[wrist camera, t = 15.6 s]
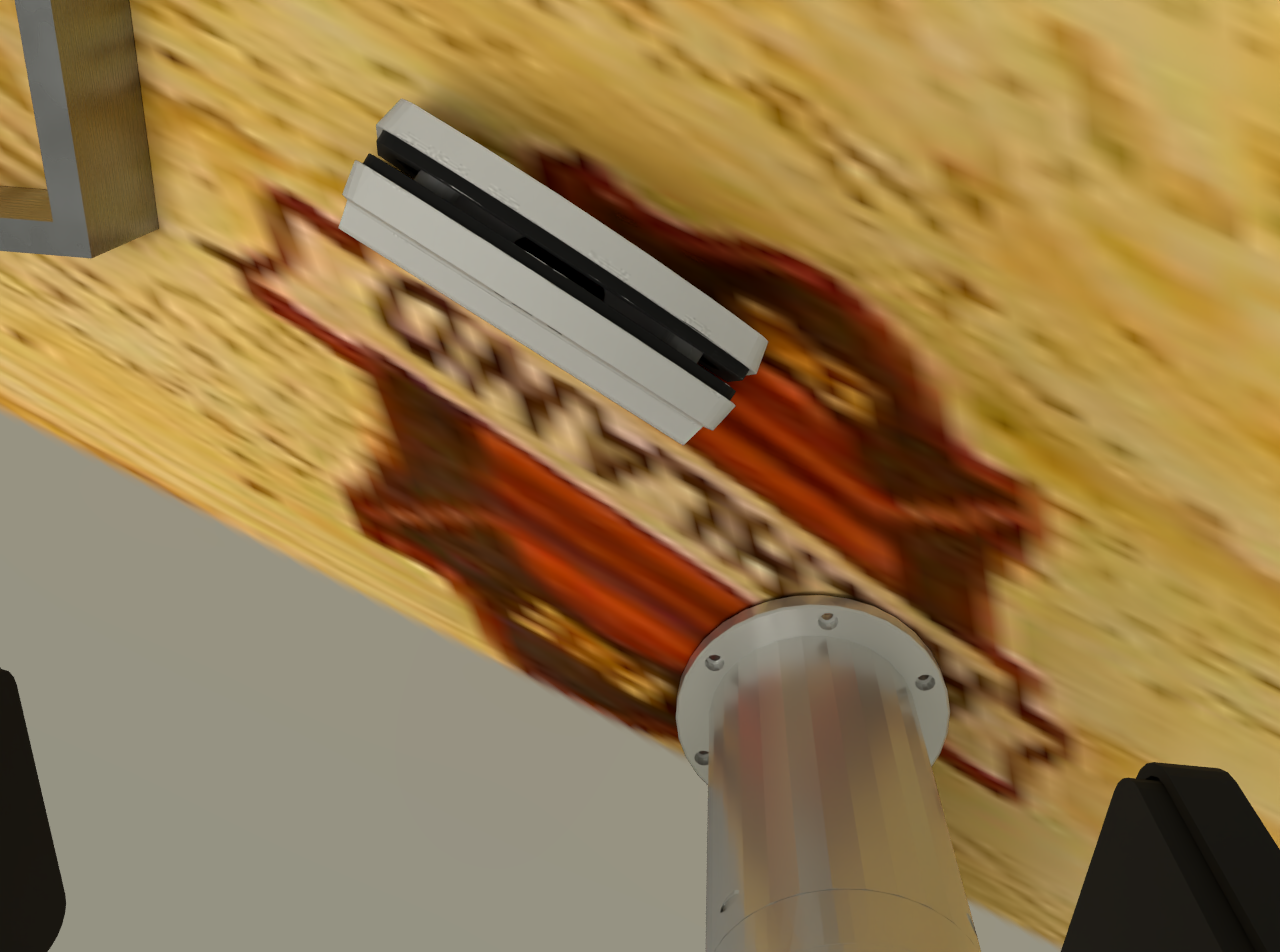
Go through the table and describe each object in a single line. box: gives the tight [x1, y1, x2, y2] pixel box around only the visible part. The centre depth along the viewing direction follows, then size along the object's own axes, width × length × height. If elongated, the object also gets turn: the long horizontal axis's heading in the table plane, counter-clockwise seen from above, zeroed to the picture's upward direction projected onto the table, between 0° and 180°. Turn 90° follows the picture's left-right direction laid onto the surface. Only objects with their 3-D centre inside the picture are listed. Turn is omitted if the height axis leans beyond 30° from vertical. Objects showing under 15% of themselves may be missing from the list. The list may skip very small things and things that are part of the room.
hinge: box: [339, 99, 768, 445], centre depth 38 cm, size 17×5×10 cm, turn 57°
